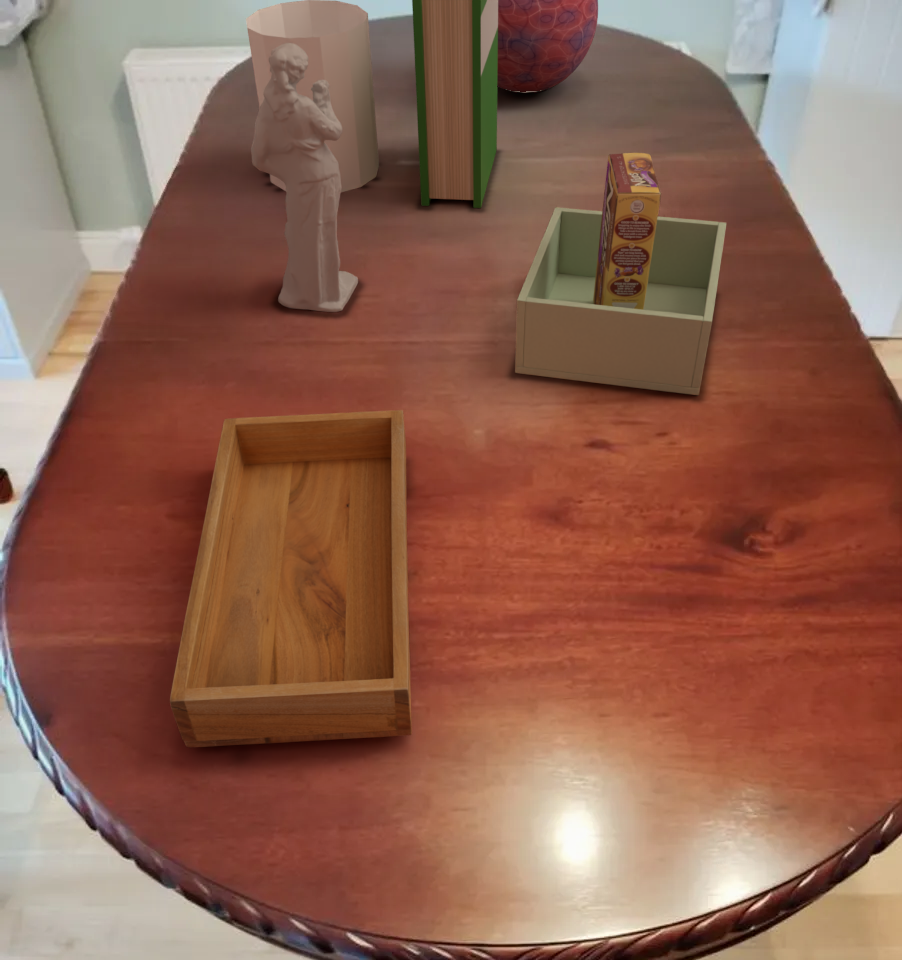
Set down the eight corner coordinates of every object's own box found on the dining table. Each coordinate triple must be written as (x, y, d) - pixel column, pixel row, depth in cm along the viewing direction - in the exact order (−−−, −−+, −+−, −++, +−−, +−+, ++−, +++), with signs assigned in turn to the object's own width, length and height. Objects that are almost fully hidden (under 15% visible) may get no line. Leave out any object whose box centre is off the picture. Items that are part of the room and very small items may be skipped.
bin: (713, 292, 107) (726, 222, 101) (698, 395, 94) (712, 321, 88) (551, 276, 110) (555, 206, 105) (514, 373, 97) (516, 300, 91)
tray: (234, 467, 88) (222, 413, 84) (406, 459, 88) (403, 405, 84) (186, 755, 66) (166, 701, 62) (413, 743, 67) (409, 689, 63)
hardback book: (480, 208, 122) (480, -15, 105) (421, 205, 123) (411, -16, 106) (496, 149, 134) (498, -59, 117) (442, 147, 135) (436, -60, 118)
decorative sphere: (610, 106, 144) (624, -56, 130) (476, 120, 142) (474, -43, 127) (569, 60, 158) (578, -90, 144) (446, 73, 155) (442, -79, 141)
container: (389, 152, 135) (379, 1, 122) (364, 198, 125) (351, 40, 112) (286, 146, 137) (266, -2, 124) (254, 191, 127) (228, 36, 114)
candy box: (642, 345, 98) (662, 192, 87) (598, 345, 99) (613, 193, 88) (633, 299, 105) (651, 151, 94) (592, 299, 105) (605, 151, 94)
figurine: (342, 263, 113) (315, 17, 95) (375, 302, 107) (353, 47, 89) (262, 282, 111) (219, 34, 93) (291, 323, 104) (251, 65, 86)
